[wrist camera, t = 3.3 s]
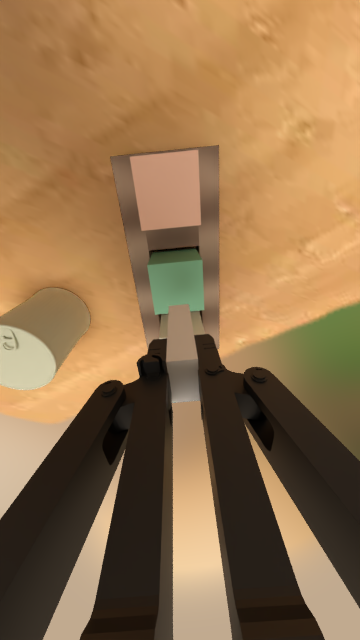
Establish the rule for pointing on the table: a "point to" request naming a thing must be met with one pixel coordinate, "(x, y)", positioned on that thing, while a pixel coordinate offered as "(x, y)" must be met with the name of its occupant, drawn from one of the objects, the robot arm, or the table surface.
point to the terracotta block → (167, 189)
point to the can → (40, 337)
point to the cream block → (196, 324)
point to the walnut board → (173, 238)
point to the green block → (176, 279)
